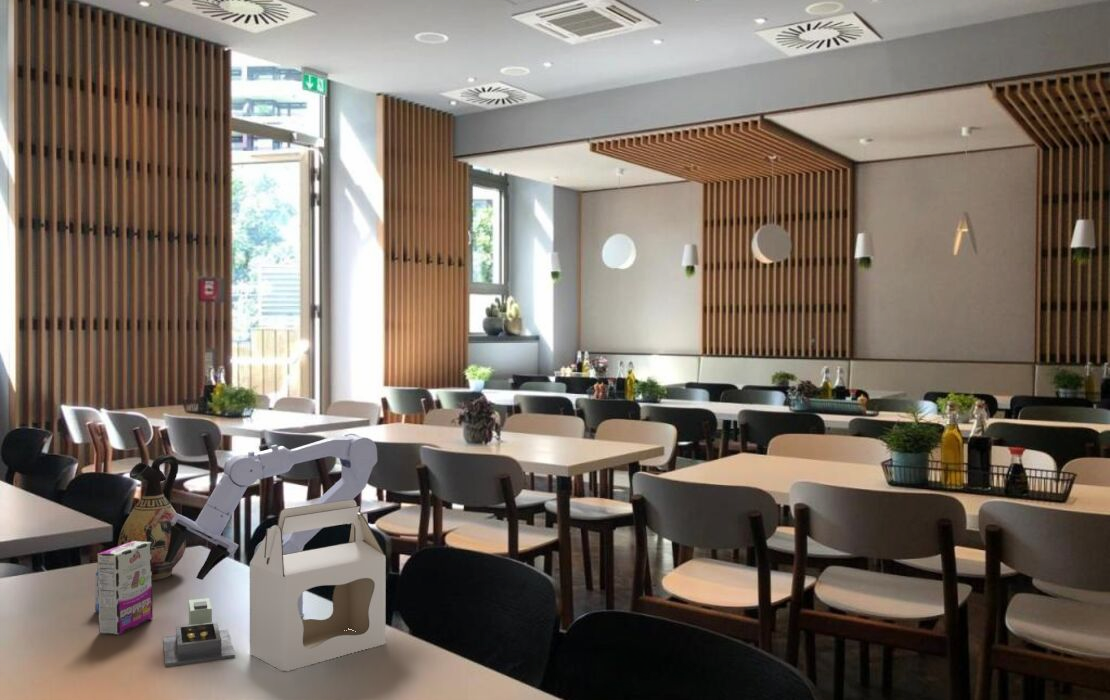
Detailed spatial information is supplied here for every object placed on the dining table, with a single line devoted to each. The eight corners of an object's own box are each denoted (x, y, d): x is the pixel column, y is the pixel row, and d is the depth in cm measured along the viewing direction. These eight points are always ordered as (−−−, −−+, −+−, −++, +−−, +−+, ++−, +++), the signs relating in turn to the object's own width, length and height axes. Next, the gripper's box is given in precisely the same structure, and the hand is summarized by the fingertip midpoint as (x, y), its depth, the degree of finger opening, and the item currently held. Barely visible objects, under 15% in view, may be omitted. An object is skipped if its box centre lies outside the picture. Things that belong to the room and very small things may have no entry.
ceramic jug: (142, 588, 220) (142, 461, 220) (104, 578, 229) (104, 456, 228) (204, 572, 234) (204, 453, 234) (167, 564, 243) (166, 448, 242)
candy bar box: (132, 617, 198) (131, 540, 198) (153, 618, 197) (153, 541, 197) (96, 634, 188) (96, 552, 187) (118, 635, 187) (118, 554, 186)
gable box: (282, 673, 167) (282, 517, 166) (248, 654, 176) (247, 506, 176) (387, 644, 183) (387, 501, 182) (350, 628, 192) (350, 492, 191)
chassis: (227, 632, 189) (227, 617, 189) (234, 657, 174) (234, 641, 174) (163, 639, 184) (163, 624, 184) (165, 666, 170) (165, 650, 170)
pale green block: (209, 621, 196) (209, 595, 196) (211, 633, 189) (211, 605, 189) (188, 624, 195) (188, 597, 194) (190, 635, 187) (190, 607, 187)
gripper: (181, 491, 191) (145, 552, 188) (242, 523, 189) (206, 585, 186) (194, 496, 198) (159, 555, 195) (253, 526, 196) (219, 586, 193)
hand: (183, 570), depth 191 cm, fingers open, 7 cm apart
